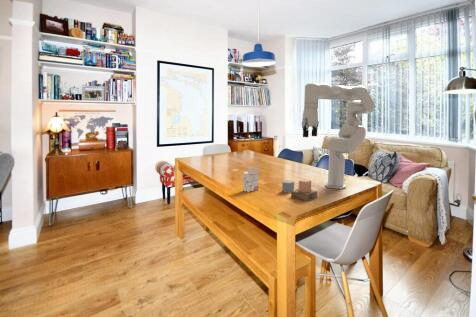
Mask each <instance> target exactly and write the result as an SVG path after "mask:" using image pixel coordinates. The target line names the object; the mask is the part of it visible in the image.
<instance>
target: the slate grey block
mask: <svg viewBox="0 0 476 317" xmlns="http://www.w3.org/2000/svg"><path fill="white" fill-rule="evenodd" d="M281 186H282V190H281V191H282V192H283V193H287V194H291V191H292V190H295V181H292V180H284V181H282V185H281Z"/></svg>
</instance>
